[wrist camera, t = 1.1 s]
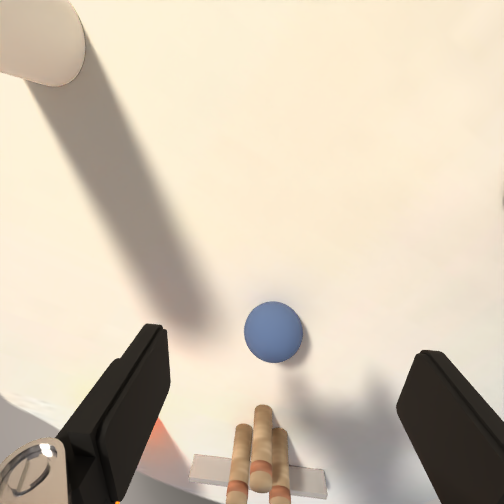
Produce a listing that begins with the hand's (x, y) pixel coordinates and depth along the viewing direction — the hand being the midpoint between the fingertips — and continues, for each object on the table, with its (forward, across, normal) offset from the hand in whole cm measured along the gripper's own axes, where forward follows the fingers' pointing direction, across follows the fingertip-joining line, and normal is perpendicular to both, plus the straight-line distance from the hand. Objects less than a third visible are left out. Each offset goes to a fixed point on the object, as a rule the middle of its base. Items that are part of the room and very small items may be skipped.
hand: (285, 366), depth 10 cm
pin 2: (+17, -4, +30) cm, 35 cm away
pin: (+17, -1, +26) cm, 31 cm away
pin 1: (+17, +2, +30) cm, 35 cm away
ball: (+14, -1, +10) cm, 17 cm away
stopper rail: (+17, -1, +38) cm, 41 cm away
